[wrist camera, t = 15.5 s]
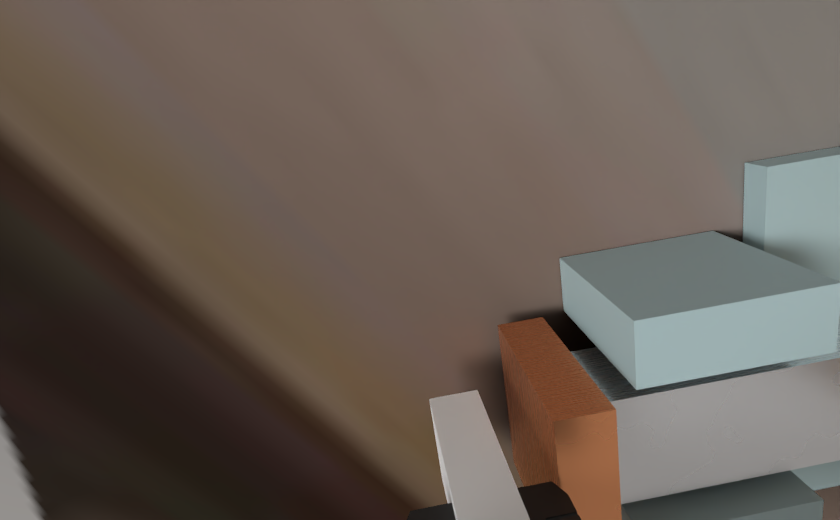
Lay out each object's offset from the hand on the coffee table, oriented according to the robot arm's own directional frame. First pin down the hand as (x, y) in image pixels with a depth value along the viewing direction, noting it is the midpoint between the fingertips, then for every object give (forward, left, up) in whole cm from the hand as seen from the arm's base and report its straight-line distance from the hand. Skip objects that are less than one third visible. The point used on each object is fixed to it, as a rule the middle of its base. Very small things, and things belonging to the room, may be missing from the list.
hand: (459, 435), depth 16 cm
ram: (0, +8, -2) cm, 9 cm away
